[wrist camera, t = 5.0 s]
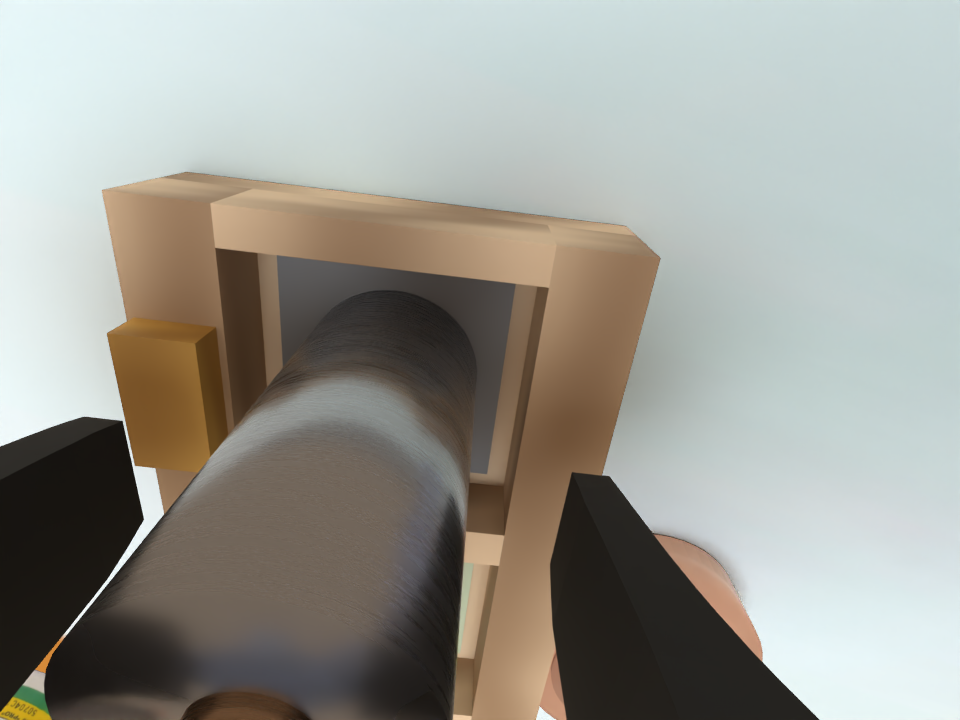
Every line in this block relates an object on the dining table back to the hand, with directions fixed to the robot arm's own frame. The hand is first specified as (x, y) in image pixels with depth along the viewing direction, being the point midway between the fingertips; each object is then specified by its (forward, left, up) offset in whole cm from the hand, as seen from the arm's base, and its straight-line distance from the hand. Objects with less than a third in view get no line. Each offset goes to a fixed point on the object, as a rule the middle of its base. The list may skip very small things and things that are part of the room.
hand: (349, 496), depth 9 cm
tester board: (0, +4, -6) cm, 7 cm away
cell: (0, 0, -4) cm, 4 cm away
